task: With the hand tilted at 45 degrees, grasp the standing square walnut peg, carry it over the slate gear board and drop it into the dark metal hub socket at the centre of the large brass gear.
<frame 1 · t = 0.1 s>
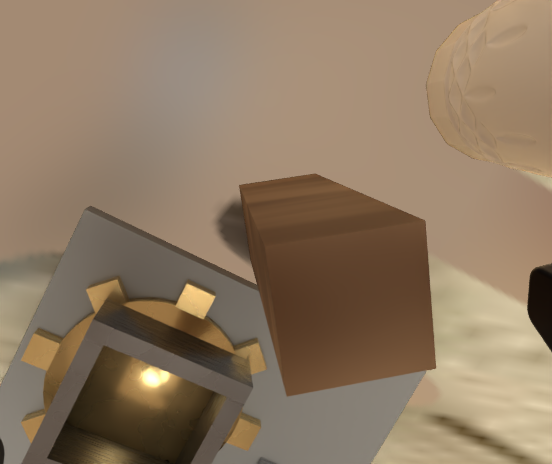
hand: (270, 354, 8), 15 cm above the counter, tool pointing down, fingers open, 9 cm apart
gears: (150, 378, 24), resting on board
board: (197, 417, 25), on the counter
peg: (282, 217, 23), on the counter
white cup: (490, 88, 23), on the counter
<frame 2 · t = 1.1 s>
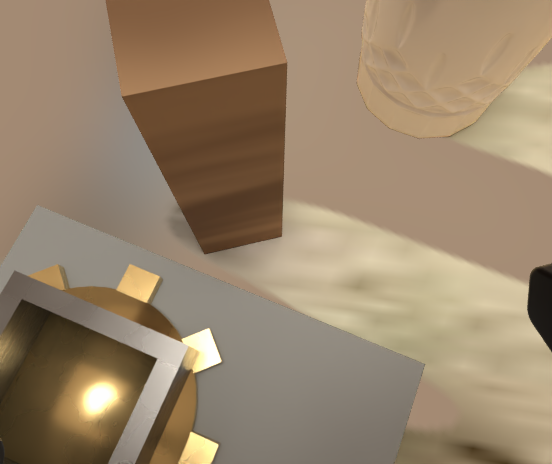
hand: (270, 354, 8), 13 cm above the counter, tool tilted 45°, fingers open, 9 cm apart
gears: (92, 401, 20), resting on board
board: (146, 456, 20), on the counter
peg: (235, 209, 23), on the counter
white cup: (420, 83, 25), on the counter
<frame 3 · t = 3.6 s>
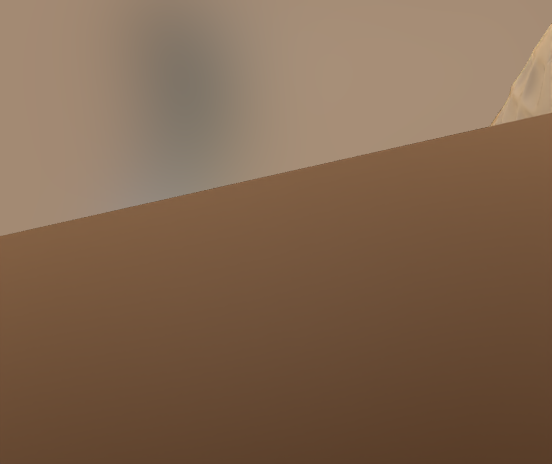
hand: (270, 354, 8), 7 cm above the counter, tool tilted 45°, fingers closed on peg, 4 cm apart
peg: (285, 421, 14), on the counter, touching gripper
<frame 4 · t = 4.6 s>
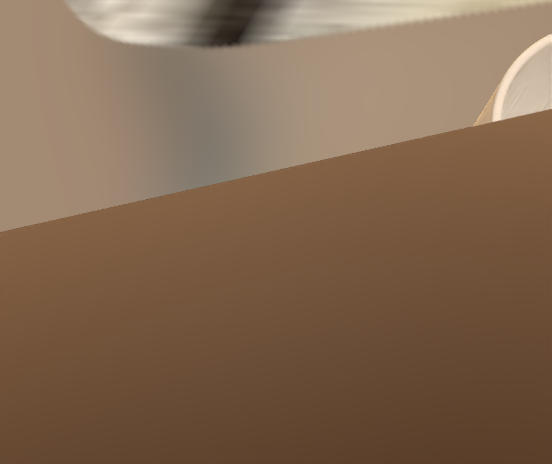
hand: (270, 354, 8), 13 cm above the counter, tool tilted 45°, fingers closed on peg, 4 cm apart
peg: (285, 420, 14), point 7 cm above the counter, touching gripper
white cup: (486, 248, 23), on the counter
when the fingers open (11 cm above the counter, at t = 6.0 s): peg drops 3 cm, resting on gears.
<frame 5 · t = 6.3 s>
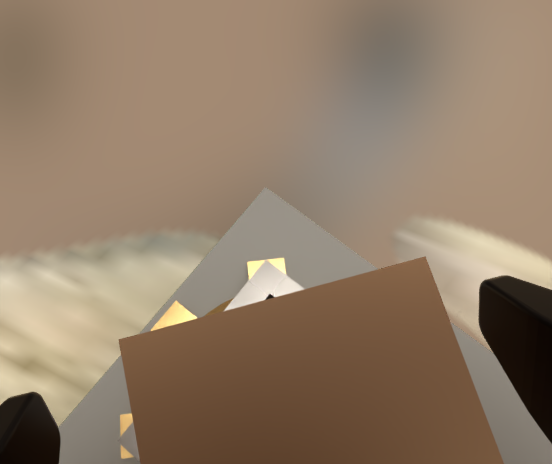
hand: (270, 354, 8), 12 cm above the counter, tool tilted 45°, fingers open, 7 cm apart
gears: (283, 414, 18), resting on board
peg: (283, 412, 17), point 2 cm above the counter, touching gears
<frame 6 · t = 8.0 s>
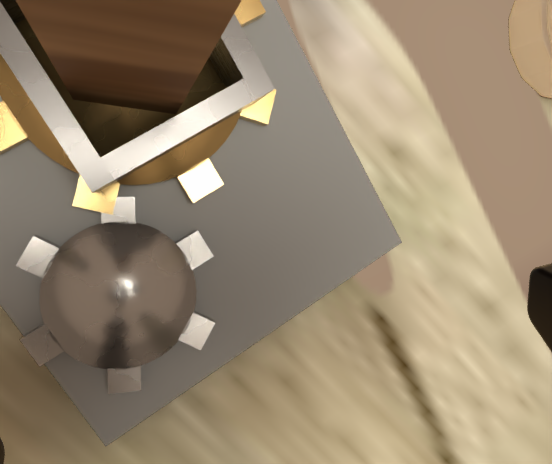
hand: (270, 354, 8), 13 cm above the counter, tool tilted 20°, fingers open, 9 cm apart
gears: (128, 71, 19), resting on board
board: (148, 150, 20), on the counter
peg: (130, 57, 18), point 2 cm above the counter, touching gears
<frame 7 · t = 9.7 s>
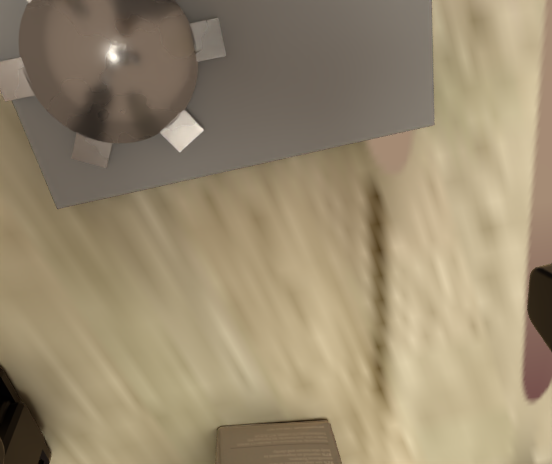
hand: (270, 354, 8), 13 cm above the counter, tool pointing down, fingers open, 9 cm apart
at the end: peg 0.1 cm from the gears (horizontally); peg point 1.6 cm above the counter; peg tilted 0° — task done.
